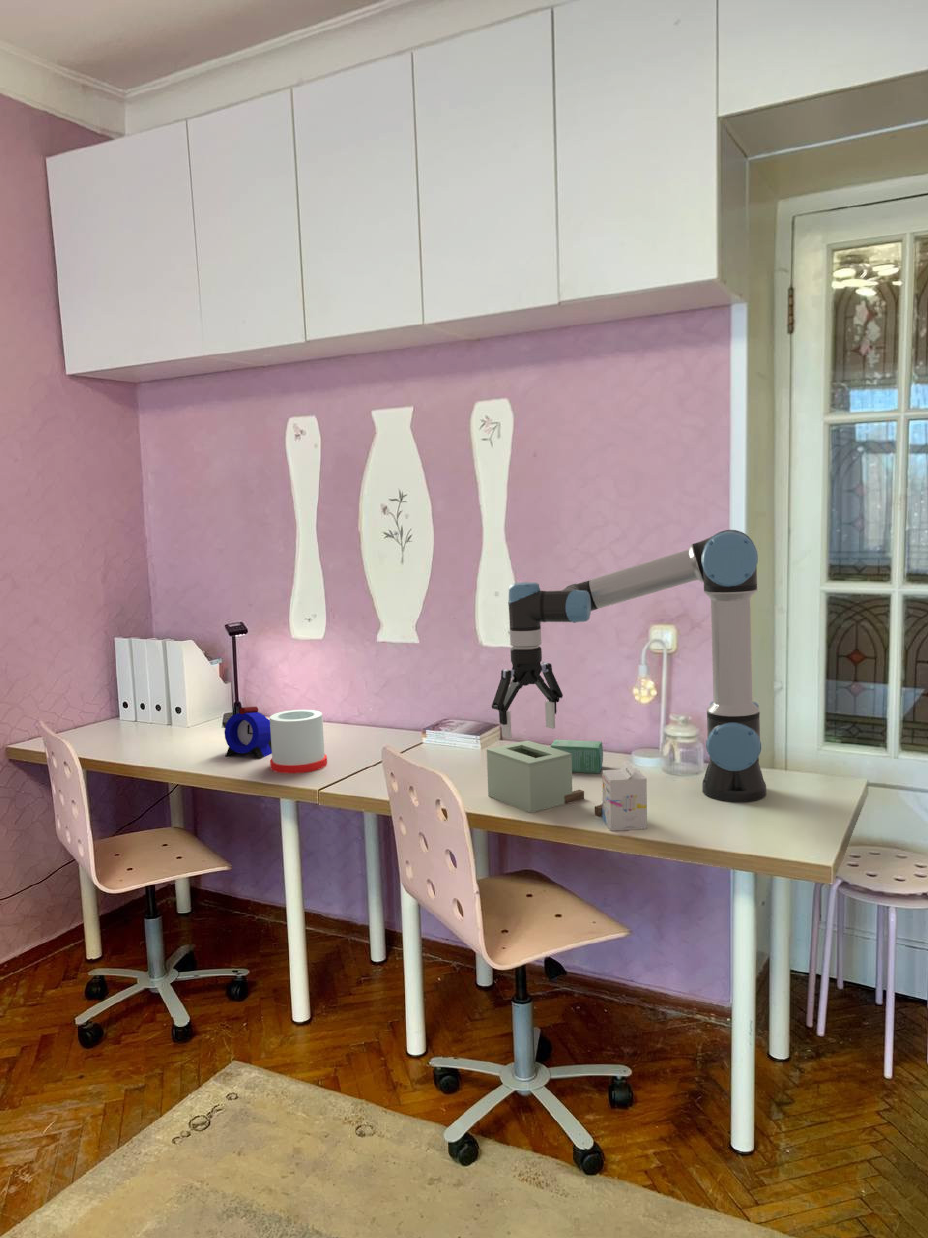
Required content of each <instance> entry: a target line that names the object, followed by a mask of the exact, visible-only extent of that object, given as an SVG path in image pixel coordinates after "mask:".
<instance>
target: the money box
mask: <svg viewBox="0 0 928 1238" xmlns="http://www.w3.org/2000/svg"><path fill="white" fill-rule="evenodd" d="M531 755H535V756H538V757H539V758H534V757H531ZM486 766H487V767H486V768H487V795H488V797H490V798H493V799H495V800H497V801H500V802H502V803H505V804H507V805H510V806H512V807H515V808H517V809H520V810H522V811H524V812H528V813H529V814H531V813H532V814H533V813H535V812H539V811H543V810H547V809H550V808H554V807H557V806H562V805H566V804H565V795H569V794H572V791H573V772H572V754H571V753H568V752H565V751H561V750H558V749H555V748H551V746H547V745H544V744H541V743H538V742H534V741H530V740H524V741H520V742H519V741H518V742H515V743H509V744H506V745H501V746H496V747H491V748H487V749H486Z"/></svg>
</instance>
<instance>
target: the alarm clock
mask: <svg viewBox="0 0 928 1238" xmlns="http://www.w3.org/2000/svg"><path fill="white" fill-rule="evenodd" d="M224 738H225V742H226V745H227V746H228V749H227V751H226V753H225V757H227V756H230V755H232V754H235V753H238V754H247V753H248V754H249V755H251V756H253V757H254V758H256V759H258V760H261V759H263V758H265V757H267V756H270V755H272V747H271V731H270V719H268V718H267V717H266V715H264V714H262V713H261V712H259V707H258V706H248V707H247V706H246V707H240V708H239V712H237V713H235V714H233V715H231V716H230V717H229V719H228V720H227V722H226V724H225V728H224Z"/></svg>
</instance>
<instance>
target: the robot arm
mask: <svg viewBox="0 0 928 1238" xmlns="http://www.w3.org/2000/svg"><path fill="white" fill-rule="evenodd" d="M758 554H759V553H758V551H757V548H756V545H755V543H754V541H753V539H751V538H750V536H748V535H747V534H746V533H744V532H743V531H740V530H736V529H725V530H721V531H719V532H717V533H715V534H713V535H712V536H710V537H708V538H706V539H703V540H701V541H697V542H696V543H695V542H694V543H691V544H690V546H689V548H688V549H686V550H682V551H680V552H677V553H673V554H670V555H667V556H664V557H660V558H657V559H653V560H650V561H647V562H643V563H640V564H638V565H634V566H631V567H628V568H625V569H622V570H621V569H620V570H618V571H615V572H611V573H609V574H605V575H601V576H598V577H596V578H592V579H589V580H586V581H582V582H580V583H579V582H578V583H572V584H570V585H568V586H566V587H565V588H563V589H562V590H541V588H540V584H539V583H537V582H529V581H528V582H527V581H526V582H525V581H524V582H516V583H512V584H510V585H509V587H508V601H507V602H508V603H507V604H508V615H509V620H508V621H509V643H510V646H511V648H510V662H511V665H512V668H511V669H505V668H503V669H501V672H500V681H499V683H498V686H497V689H496V691H495V695H494V698H493V701H492V704H491V709H492V710H497V711H498V716H499V717H498V719H499V724H500V725H501V735H502V738H503V737H504V738H506V739H512V719H511V718H512V713H511V710H509V709H510V707H511V705H512V703H513V702H514V700H515V698H516V696H517V695H518V693H519V691H520V690H521V689H522V688H523V686H524V687H525V686H530V685H535V686H536V687H537V688H538V690H539V691H540V692H541V693H542V694H543V696H544V697H545V698H546V699H547V700H546V701H545V702H544V709H545V710H544V711H545V712H544V713H545V714H544V715H545V728H548V729H552V730H554V729H556V716H555V715H556V714H557V711H558V710H557V703H559V702H560V699H563V696H564V695H563V692H562V690H561V687H560V686H559V684H558V683H559V682H557V679H556V677H555V675H554V673H553V666H552V663H549V662H545V661H543V659H542V658H543V655H542V647H541V645H542V627H541V626H542V625H541V624H542V623H575V624H576V623H580V622H584V623H585V622H588V621H589V620H590V618H591V612H593V611H596V610H599V609H602V608H606V607H608V606H613V605H617V604H619V603H620V604H621V603H622V602H627V601H629V600H633V599H636V598H640V597H643V596H646V595H650V594H654V593H656V592H660V591H663V590H666V589H671V588H674V587H678V586H681V585H684V584H687V583H691V582H694V581H699V582H702V583H703V593H704V594H705V595H706V596H707V597H709V599H710V610H711V611H710V614H711V619H710V620H711V654H712V655H711V656H712V657H711V658H712V663H711V664H712V692H713V693H712V694H713V695H712V696H713V697H712V698H713V701H711V702H710V704H709V706H708V707H706V722H707V723H706V725H707V726H706V730H707V732H706V733H707V739H706V743H705V746H706V752H707V754H708V756H709V761H708V764H707V767H706V770H705V774H704V777H703V779H702V782H701V783H702V793H703V795H705V796H707V797H709V798H712V799H713V800H714V799H715V800H719V801H725V802H726V801H727V802H734V803H735V802H738V803H743V802H753V801H758V800H761V799H763V798H765V797H766V796H767V785H766V782H765V779H764V776H763V772H762V769H761V766H760V754H761V751H762V741H761V732H760V731H761V730H760V729H761V726H760V725H761V722H760V721H761V720H760V714H761V712H760V708H759V704H758V703H757V702H756V701H753V671H752V670H753V669H752V666H753V665H752V626H751V625H752V620H751V614H752V613H751V610H752V609H751V598H752V597H753V595H754V594H755V593H757V591H758V572H757V571H758V567H757V566H758V562H759V558H758V557H759V556H758ZM542 661H543V662H542ZM541 673H542V675H543V677H544V678H545V679H544V678H543V677H542V675H541ZM545 681H546V682H545Z"/></svg>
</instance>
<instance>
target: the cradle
mask: <svg viewBox="0 0 928 1238" xmlns="http://www.w3.org/2000/svg"><path fill="white" fill-rule="evenodd" d="M581 800H585V790H582V789H576V790H572V794H569V795H565V804H564V805H567V804H571V803H573V802H579V801H581ZM594 815H595V816H597V817H599V818H600V817H603V803H602V804H600V805H595V806H594Z"/></svg>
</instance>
